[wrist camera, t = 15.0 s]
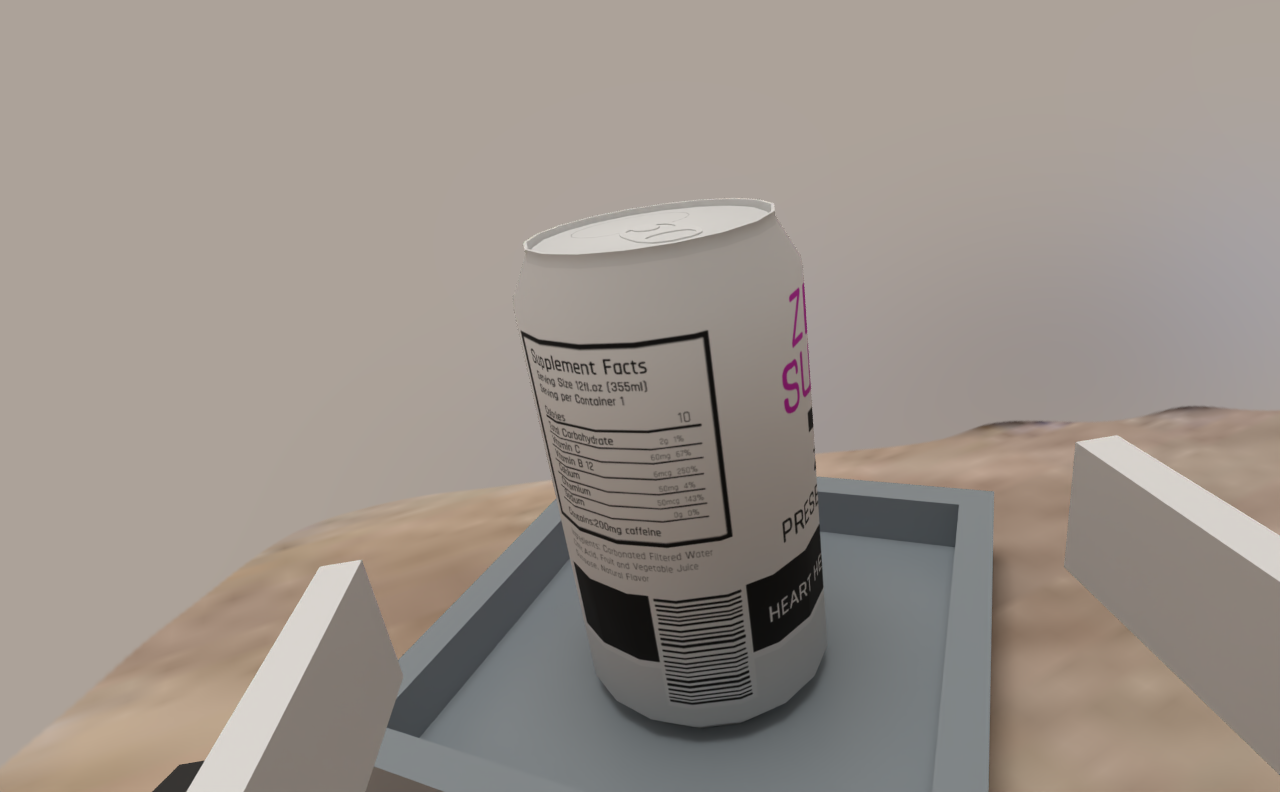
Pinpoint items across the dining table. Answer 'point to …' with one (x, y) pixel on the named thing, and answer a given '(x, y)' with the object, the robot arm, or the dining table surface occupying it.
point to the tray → (729, 754)
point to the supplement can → (682, 451)
